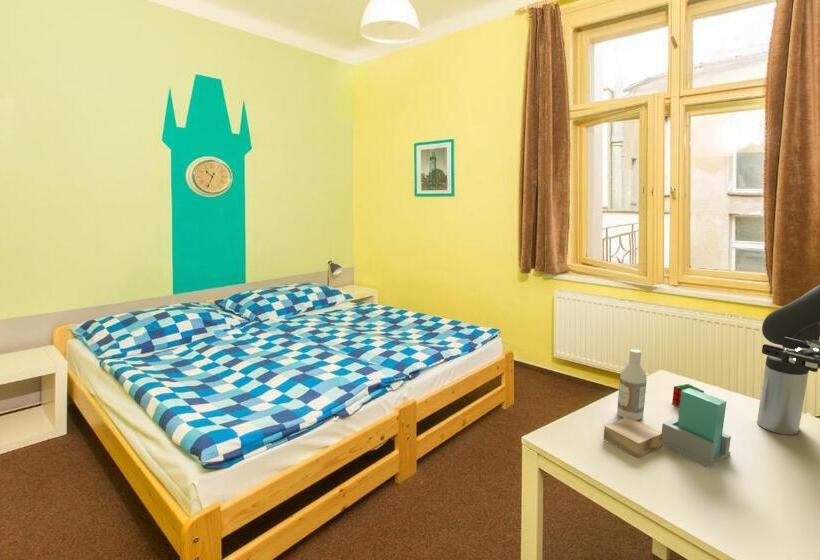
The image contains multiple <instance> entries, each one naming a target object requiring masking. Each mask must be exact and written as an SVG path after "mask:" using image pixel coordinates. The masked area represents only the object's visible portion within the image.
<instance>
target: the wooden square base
mask: <svg viewBox="0 0 820 560" xmlns="http://www.w3.org/2000/svg"><path fill="white" fill-rule="evenodd" d="M603 430H604V432H603V440H604V441H605V440H606V441H605V442H607V441H608V442H607V443H608V444H610V445H612V444H613V446H614V445H615V446H614V447H616V446H617V447H616V448H618V449H620V450H622V451H623V452H625V453H626V454H629V455H631V456H632V457H635V458H637V459H639V458H641V457H642V456H645V455H647V454H650V453H652V452H653V451H656V450H658V449H660V448H662V445H661V441H662V431H661V432H660V431H659V430H656V429H655V428H651V427H650V426H648V425H646V424H644V423H642V422H641V421H640V422H639V421H638V420H633V419H631V418H629V417H626V418H622V419H619V420H616V421H614V422H611V423H609V424H606V425H604V429H603Z"/></svg>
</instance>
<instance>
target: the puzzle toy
mask: <svg viewBox="0 0 820 560" xmlns="http://www.w3.org/2000/svg"><path fill="white" fill-rule="evenodd" d="M688 388H691V389H694V390H697V391H699V392H702V393H705V391H704V390H702V389H700V388H698V387H695V386H693V385H691V384H690V383H686V384H681V385H674V386H673V392H672V401H671V403H672V404H673V405H674V406H677V407H679V408H680V399H681V391H683V390H685V389H688Z"/></svg>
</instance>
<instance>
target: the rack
mask: <svg viewBox="0 0 820 560" xmlns="http://www.w3.org/2000/svg"><path fill="white" fill-rule="evenodd" d="M678 417H679V416H677V417H675V418H671V419H670V420H667V421H665V422H662V424H661V425H662V426H661V433H662V441H661V446H664V447H665V448H667V449H669V450H670V451H673V452H675V453H677V454H680V455H681V456H684V457H685V458H687V459H690V460H691V461H693V462H695V463H697V464H699V465H701V466H703V467H705V468H707V469H708V468H709V467H711V466H713V465H715V464H717V463H718V462H721V461H722V460H725V459H726V458H728V457H730V456H731V451H730V445H731V438H732V437H731V435H728V434H726V433H724V432H722V439H721V447H720V454H718V455H716V456H714V453H715V446H716V444H715V443H712V442H710V441H708V440H706V439H703V438H701V437H699V436H697V435H695V434H692V433H690V432H688V431H686V430H683V429H681V428H679V427H677V426H678Z"/></svg>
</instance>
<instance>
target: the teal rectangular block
mask: <svg viewBox="0 0 820 560" xmlns="http://www.w3.org/2000/svg"><path fill="white" fill-rule="evenodd" d="M727 403H728V402H727V400H724V399H721V398H719V397H716V396H713V395H710V394H707V393H705V392H704V393H702V392H699V391H697V390H694V389H691V388H688V389H685V390H683V391H681V399H680V407H679V409H678V416H677V417H678V426H677V427H679V428H681V429H683V430H686V431H688V432H690V433H692V434H695V435H697V436H699V437H701V438H703V439H706V440H708V441H710V442H712V443H715V444H716V446H715V453H714V456H716V455H718V454H720V447H721V439H722V433H724V432H723V431H724V430H723V429H724V424H725V415H726V409H727Z"/></svg>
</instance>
